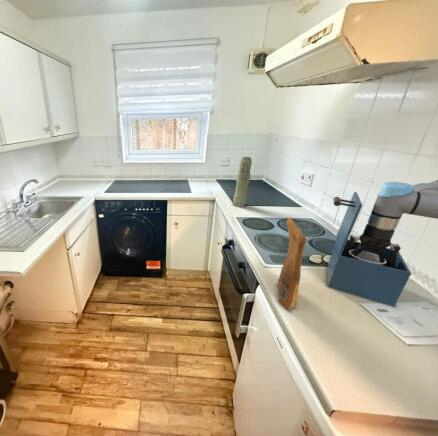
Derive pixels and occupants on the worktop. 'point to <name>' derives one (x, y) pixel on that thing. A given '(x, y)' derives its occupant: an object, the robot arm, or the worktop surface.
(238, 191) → the olive green rough post
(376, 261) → the plastic cup
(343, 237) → the lid
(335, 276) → the blue hollow box
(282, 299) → the pancake mix bag
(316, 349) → the worktop surface
